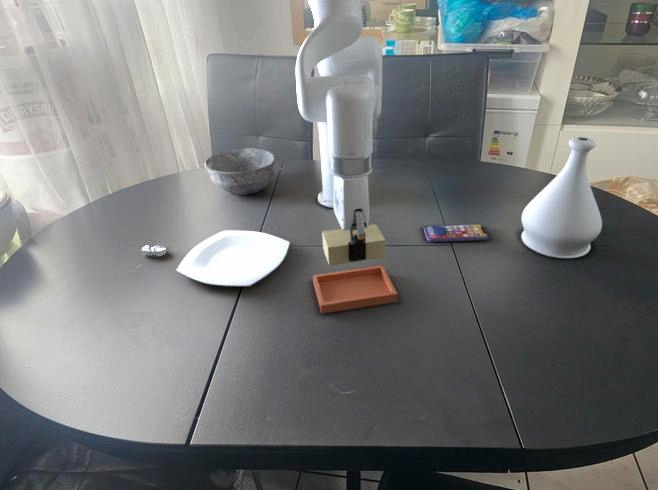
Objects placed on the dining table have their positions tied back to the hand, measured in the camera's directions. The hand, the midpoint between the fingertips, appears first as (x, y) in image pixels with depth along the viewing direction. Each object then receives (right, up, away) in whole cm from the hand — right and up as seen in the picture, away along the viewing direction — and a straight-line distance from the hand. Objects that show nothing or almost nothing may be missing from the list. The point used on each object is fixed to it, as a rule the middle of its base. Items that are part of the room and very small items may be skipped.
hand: (353, 249), depth 87 cm
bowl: (-33, +21, +50) cm, 64 cm away
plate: (-27, -2, +17) cm, 32 cm away
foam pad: (0, -1, 0) cm, 1 cm away
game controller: (-49, -2, +18) cm, 52 cm away
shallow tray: (0, -9, +6) cm, 11 cm away
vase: (+49, +3, +21) cm, 54 cm away
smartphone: (+26, +5, +25) cm, 36 cm away
